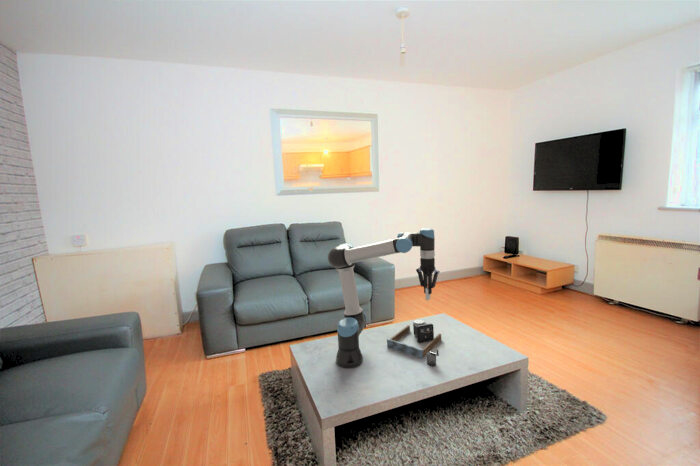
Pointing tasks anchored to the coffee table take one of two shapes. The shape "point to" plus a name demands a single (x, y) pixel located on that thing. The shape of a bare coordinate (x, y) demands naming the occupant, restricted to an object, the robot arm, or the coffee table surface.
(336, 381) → the coffee table surface
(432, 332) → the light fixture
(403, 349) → the bay
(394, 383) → the coffee table surface
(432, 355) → the winch drum
